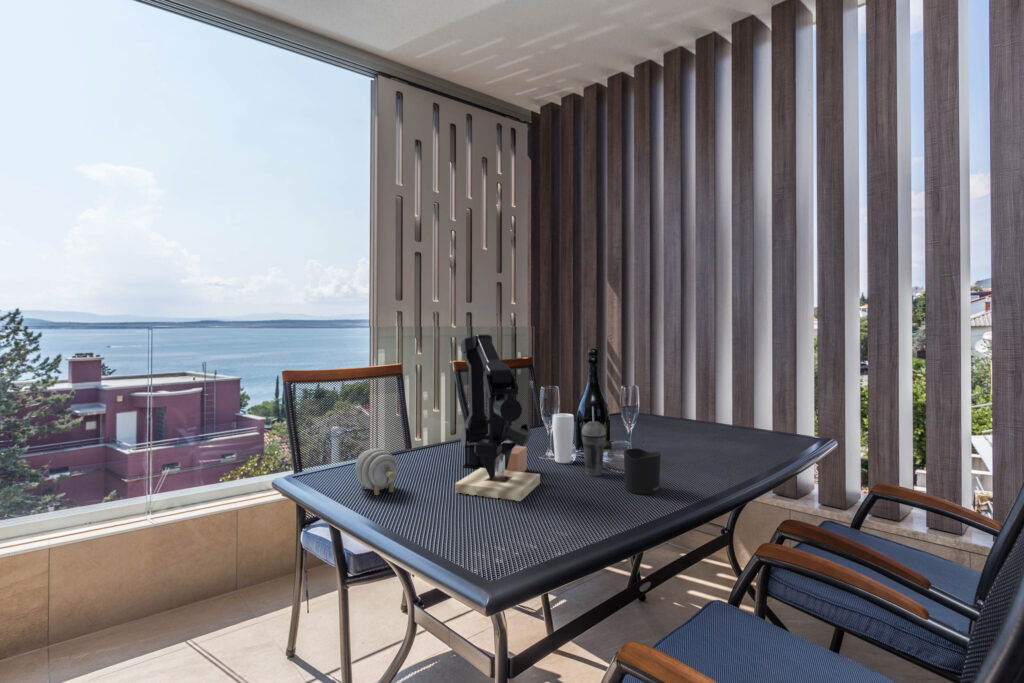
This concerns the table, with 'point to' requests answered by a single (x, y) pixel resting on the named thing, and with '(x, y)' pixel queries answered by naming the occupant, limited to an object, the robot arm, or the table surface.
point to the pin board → (498, 485)
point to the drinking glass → (563, 436)
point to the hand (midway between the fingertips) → (498, 473)
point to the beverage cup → (593, 446)
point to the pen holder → (642, 471)
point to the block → (518, 459)
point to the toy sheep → (376, 470)
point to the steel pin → (500, 469)
